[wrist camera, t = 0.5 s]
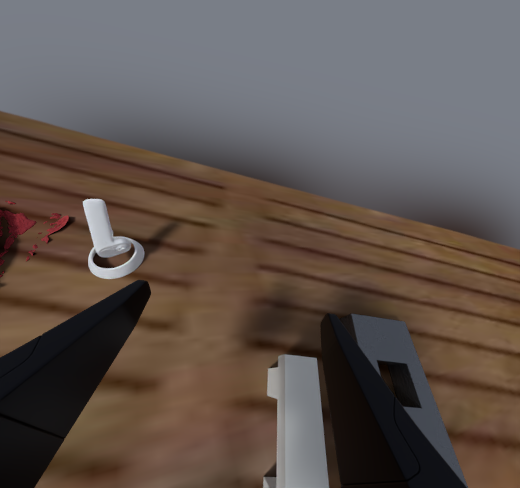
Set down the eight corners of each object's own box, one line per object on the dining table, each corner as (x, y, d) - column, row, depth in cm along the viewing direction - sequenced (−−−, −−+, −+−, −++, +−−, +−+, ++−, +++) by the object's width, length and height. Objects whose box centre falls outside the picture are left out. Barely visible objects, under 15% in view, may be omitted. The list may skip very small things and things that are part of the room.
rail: (486, 629, 14) (541, 680, 12) (394, 637, 13) (434, 694, 11) (388, 326, 27) (404, 321, 25) (338, 319, 26) (351, 313, 24)
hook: (128, 195, 26) (135, 197, 22) (142, 258, 29) (151, 270, 25) (67, 197, 22) (62, 200, 18) (91, 270, 26) (92, 287, 21)
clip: (293, 539, 15) (343, 638, 9) (257, 540, 14) (285, 642, 9) (290, 362, 22) (316, 358, 16) (266, 360, 22) (284, 354, 16)
